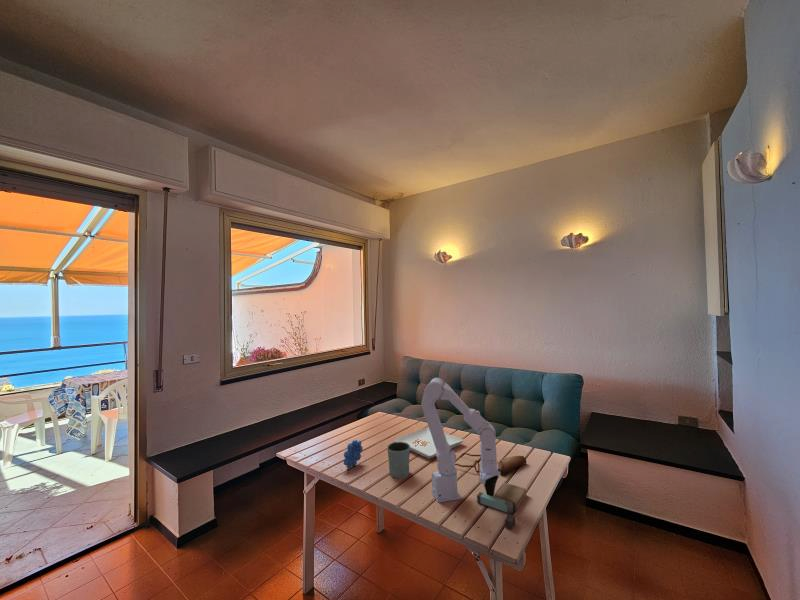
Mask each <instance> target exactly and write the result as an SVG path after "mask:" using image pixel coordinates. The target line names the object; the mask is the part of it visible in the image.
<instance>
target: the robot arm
mask: <svg viewBox="0 0 800 600" xmlns="http://www.w3.org/2000/svg"><path fill="white" fill-rule="evenodd" d="M439 398H440V400H444V401H448V402H450V403H451V405H453V407H455V408H456V409H457V410H458V411H459V412H461V414H462V415H463V420H464V421H465V422H466V424H467V425H468V426H469V427H470V428H471V429H472V430H473V431H474V432H475V433H476V434H478V436H479V439H480V448H479V449H480V455H481V456H480V459H481V461H480V475H479V477H478V481H479V482H478V484H481V485H483V486H484V490H485V494H486V495H490V496H493V497H494V496H495V490H496V485H497V481H498V479H499V476H501V475H500V472H499V471H498V469H499V463H498V462H497V461H498V460H497V459H498V458H497V445H496V444H497V443H496V440H497V436H496V429H495V427H494V426H493V424H492V423H490V422H489V421H488V420H486V419H485V418H484V417H483V416H482V415H481V412H480V411H479V410H476V409H474V408H469V406H468V405H467V404H466V403H465V402H464V400H462V398H461V397H460V396H459V395H458V394H457V393H456V392H455V391H454V390H453V389H452V387H451V386H450V385H449V384H448V383H446V382H445V381H444V380H443V379H442V378H440V377H434V378H432V379H431V380H430V381H429V383H428V384H427V385H426V386H425V388H424V390H423V395H422V399H421V405H420V406H421V408H422V412H423V415H424V416H425V420H426V422H427V423H426V424H427V426H428V428H429V429H430V432H431V435H432V438H433V441H434V444H435V447H436V455H437V456H436V459H437V470H436V471H434V472H432V474H431V489H432V490H431V493H432V494H433V496H434V498H435V500H436V502H437V503H442V502H449V501H456V500H461V499H462V496H461V495H460V493H459V491H458V471H457V468H456V465H455V464H456V462H457V461H456V460H457V455H456V453H455V451H454V450H453V448H451V447H450V445H449V444H448V443H447V440H446V437H445V434H444V433H445V431H444V428H443V426H442V425H443V424H442V422H441V419H440V416H439V414H438V411H437V408H436V404H435V403H436V402H437V400H438V399H439Z"/></svg>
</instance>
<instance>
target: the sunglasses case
mask: <svg viewBox="0 0 800 600" xmlns="http://www.w3.org/2000/svg"><path fill="white" fill-rule="evenodd" d="M497 463H499V469H498V471H499V472H500V475H499V476H501V477H504V476H506V475H507V474H508V473H510V472H512V471H513V470H515V469H517V468H519V467H521V466H523V465H526V464H527V459H526V458H525V456H524V455H513V456H509V457H505V458H503V459H501V460H500V461H498V462H497Z"/></svg>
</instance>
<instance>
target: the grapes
mask: <svg viewBox="0 0 800 600" xmlns="http://www.w3.org/2000/svg"><path fill="white" fill-rule="evenodd" d="M346 447H347V450H345V451H344V452H343V457H344V459H343V465H344V466H346V469H348V468H349V469H351V468H353V467H352V466H354V465H358V461H360V460H361V458H362V454H361V453H362V452H363V446H362V441H361V440H360V439H359V440H357V439H356V438H355V439H353V440H351V442H350V443H348V444H347V446H346ZM354 467H355V466H354Z"/></svg>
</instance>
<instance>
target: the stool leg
mask: <svg viewBox="0 0 800 600" xmlns="http://www.w3.org/2000/svg"><path fill="white" fill-rule="evenodd" d="M476 502H477V503H478V504H482V505H484V506H487V507H490V508H493V509H496V510H499V511H502V512H504V513H506V514H507V513H508V514H513V513H514V510H513V503H512V502H510V501H505V500H502V499H499V498H496V497H494V496H490V495H487V493H484V492H481V491H479V493H478V494H476Z"/></svg>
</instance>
